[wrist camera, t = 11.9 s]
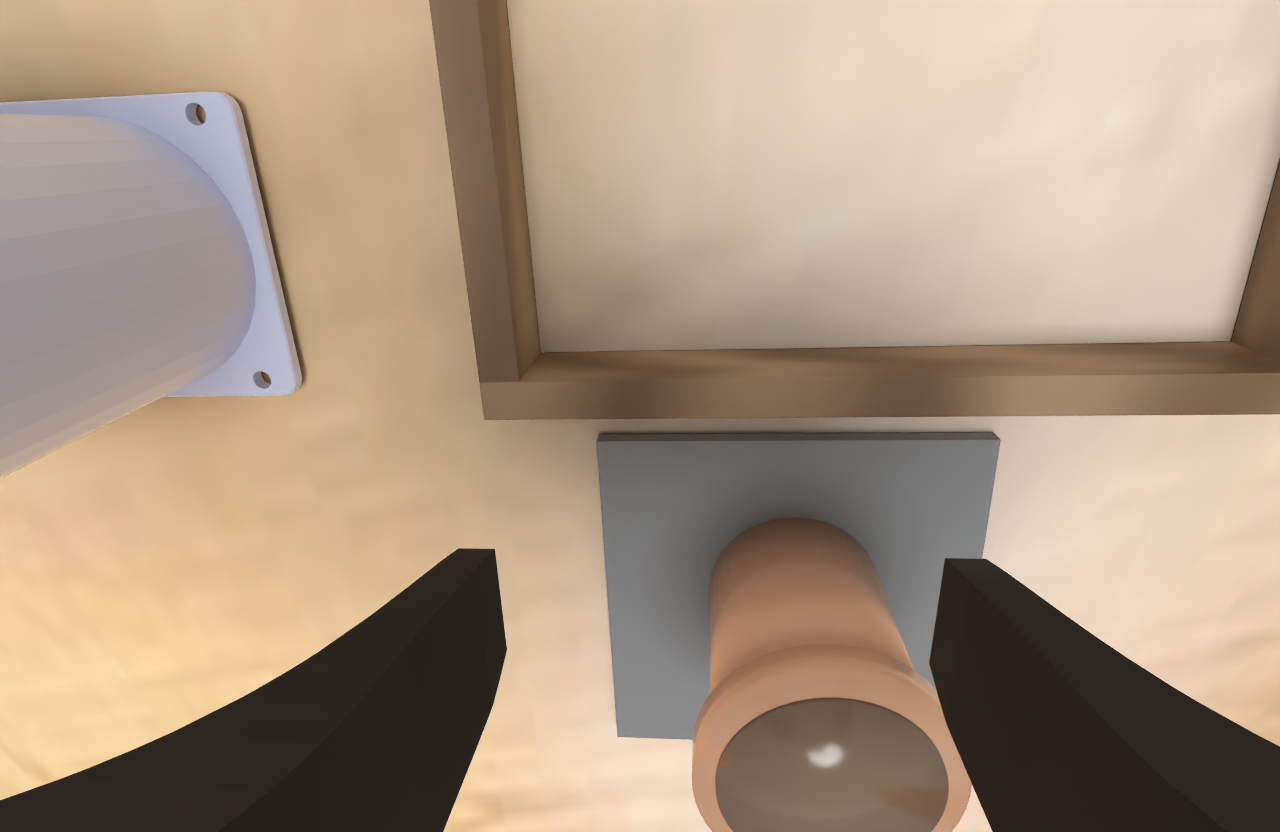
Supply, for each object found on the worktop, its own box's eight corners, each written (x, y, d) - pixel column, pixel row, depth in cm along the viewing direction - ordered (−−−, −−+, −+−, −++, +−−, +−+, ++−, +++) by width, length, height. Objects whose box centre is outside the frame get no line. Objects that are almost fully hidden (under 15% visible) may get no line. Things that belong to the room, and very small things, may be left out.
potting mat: (619, 725, 25) (617, 736, 25) (599, 434, 21) (596, 441, 20) (947, 736, 24) (952, 748, 24) (993, 432, 20) (1000, 439, 19)
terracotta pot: (693, 661, 23) (688, 876, 16) (699, 501, 21) (695, 674, 14) (878, 671, 23) (949, 896, 16) (904, 509, 20) (998, 692, 14)
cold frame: (509, 386, 21) (484, 419, 18) (423, -354, 15) (371, -442, 12) (1262, 378, 19) (1340, 413, 16) (1512, -476, 13) (1689, -608, 10)
